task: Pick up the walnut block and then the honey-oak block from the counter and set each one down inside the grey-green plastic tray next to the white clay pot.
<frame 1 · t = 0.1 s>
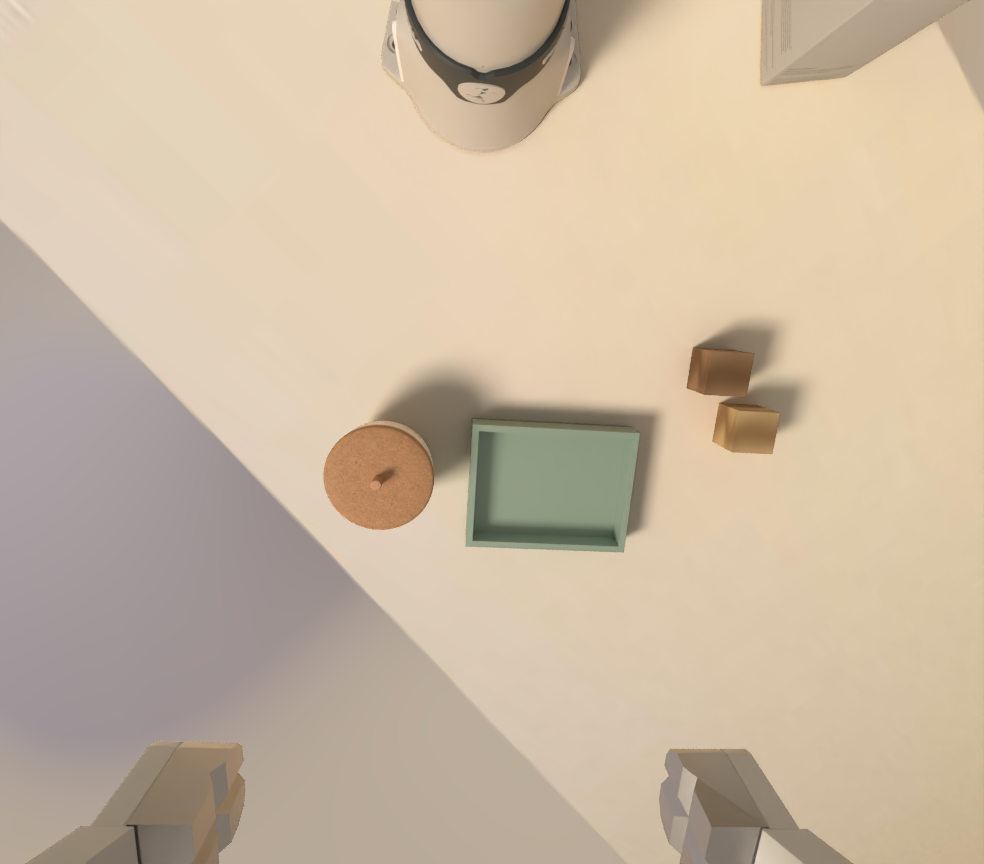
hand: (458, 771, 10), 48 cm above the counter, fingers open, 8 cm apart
tray: (546, 481, 59), on the counter
walnut block: (709, 369, 57), on the counter
lidded jar: (390, 456, 58), on the counter
oak block: (734, 423, 59), on the counter
supplement box: (803, 32, 50), on the counter
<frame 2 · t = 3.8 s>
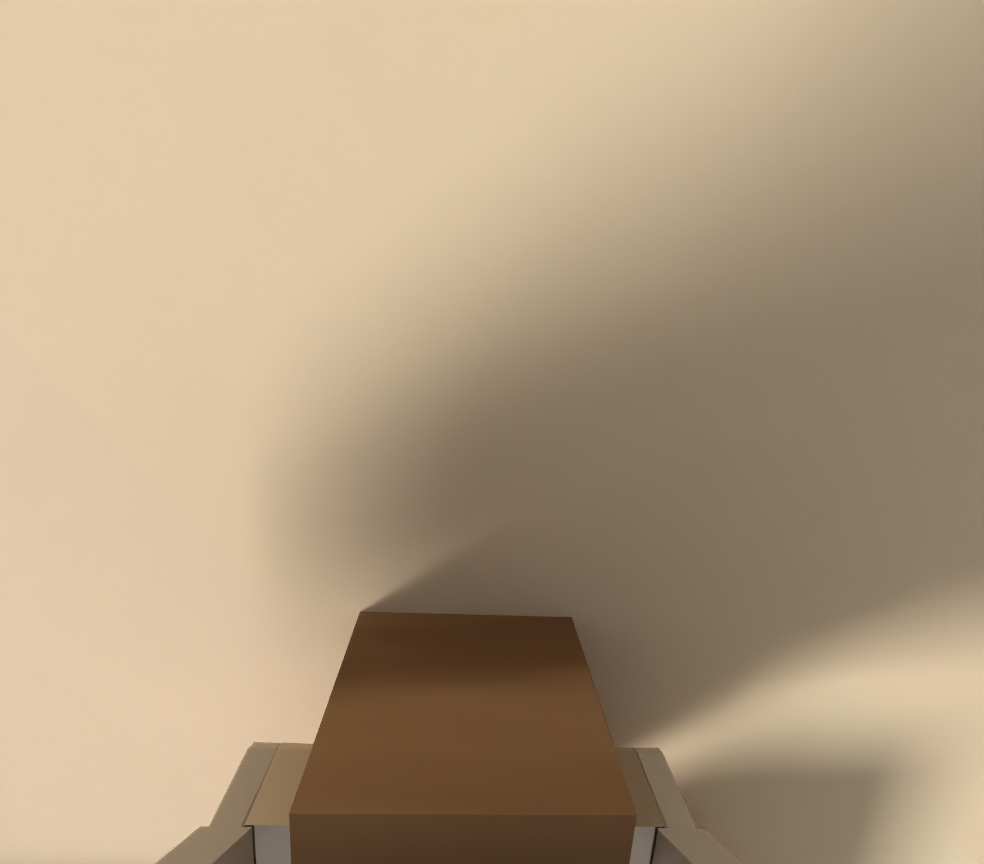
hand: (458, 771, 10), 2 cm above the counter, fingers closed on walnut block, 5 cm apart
walnut block: (462, 701, 12), on the counter, touching gripper
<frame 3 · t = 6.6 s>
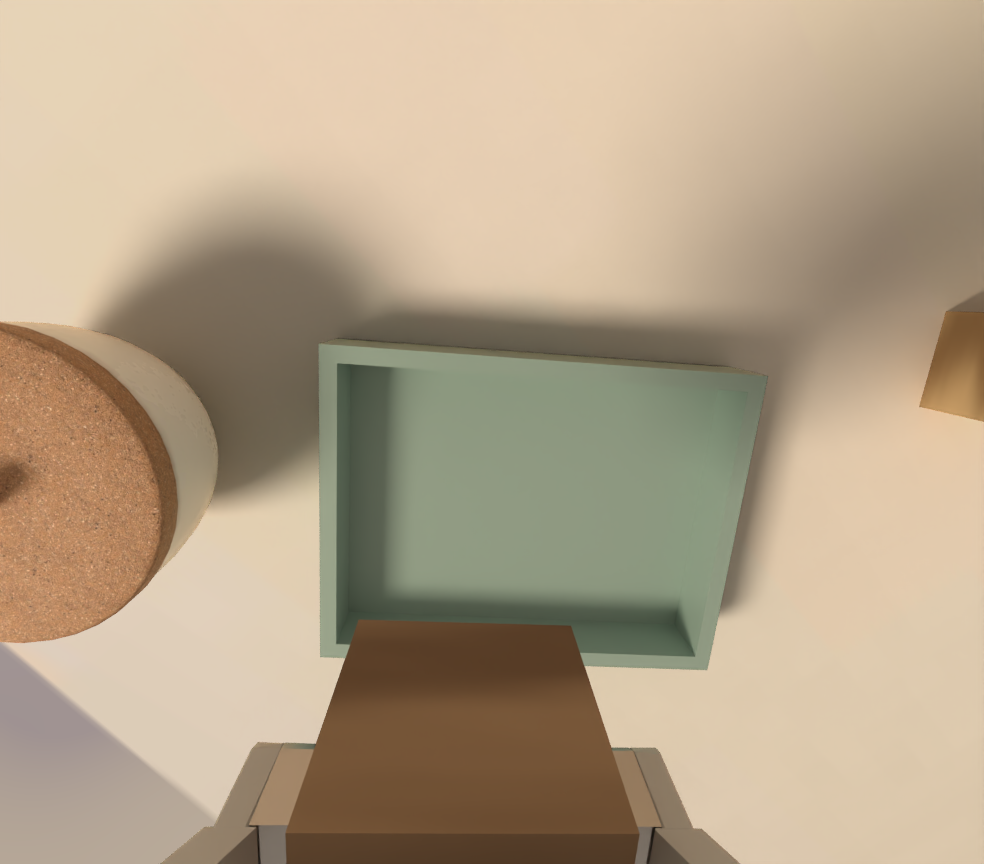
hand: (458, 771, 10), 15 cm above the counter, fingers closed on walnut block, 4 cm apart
tray: (525, 497, 25), on the counter
walnut block: (460, 712, 11), point 14 cm above the counter, touching gripper
lidded jar: (140, 433, 24), on the counter
oak block: (975, 363, 25), on the counter
when the fingers open (4 cm above the counter, at t = 9.2 s): walnut block drops 2 cm, resting on tray.
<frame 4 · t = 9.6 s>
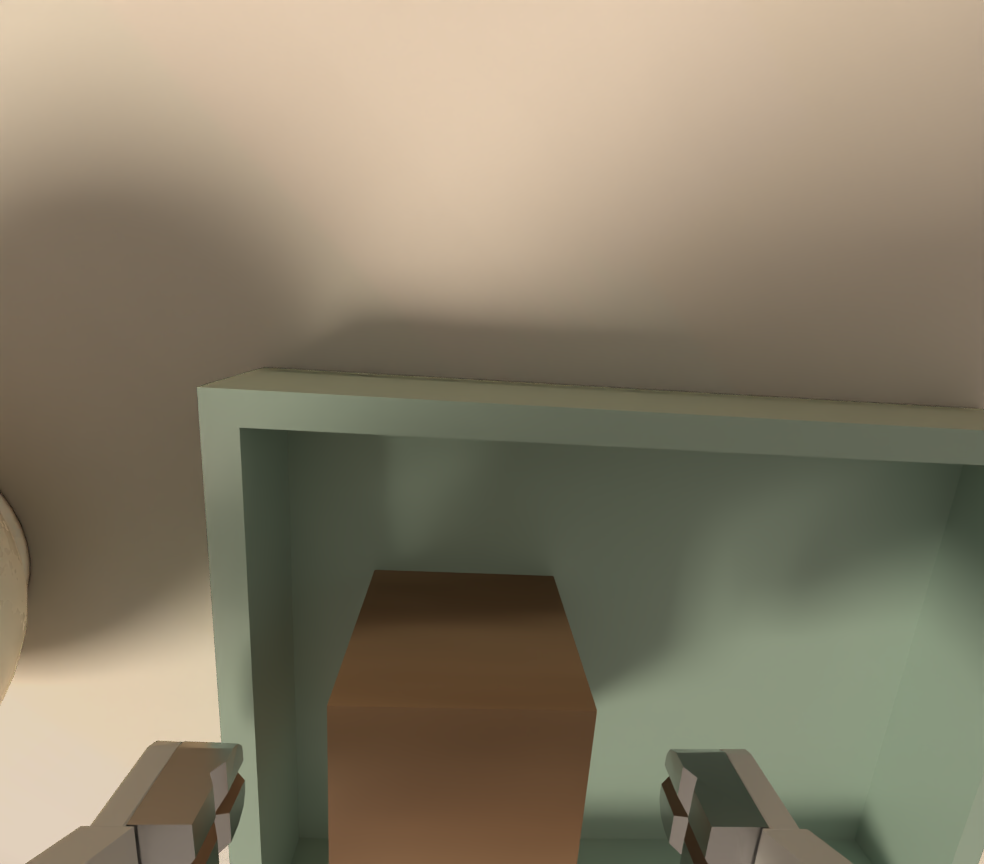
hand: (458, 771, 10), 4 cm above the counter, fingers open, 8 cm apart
tray: (605, 638, 14), on the counter
walnut block: (460, 650, 13), point 1 cm above the counter, touching tray
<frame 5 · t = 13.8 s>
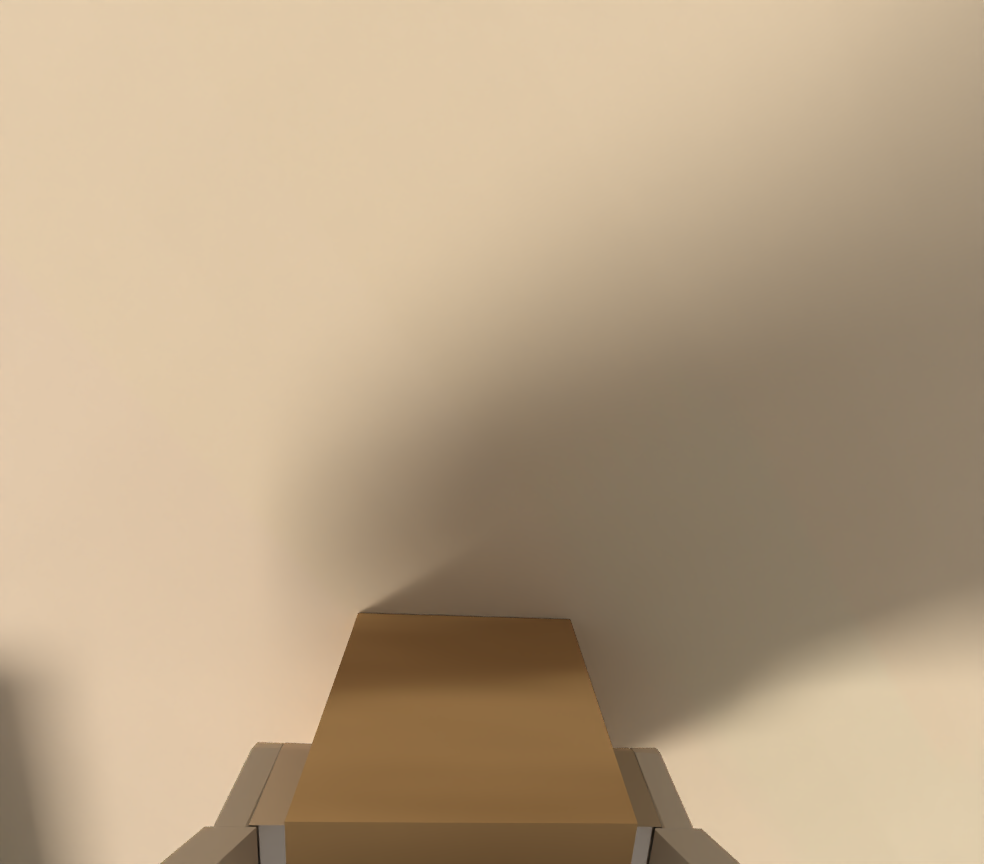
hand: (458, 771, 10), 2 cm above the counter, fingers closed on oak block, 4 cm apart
oak block: (460, 705, 11), on the counter, touching gripper
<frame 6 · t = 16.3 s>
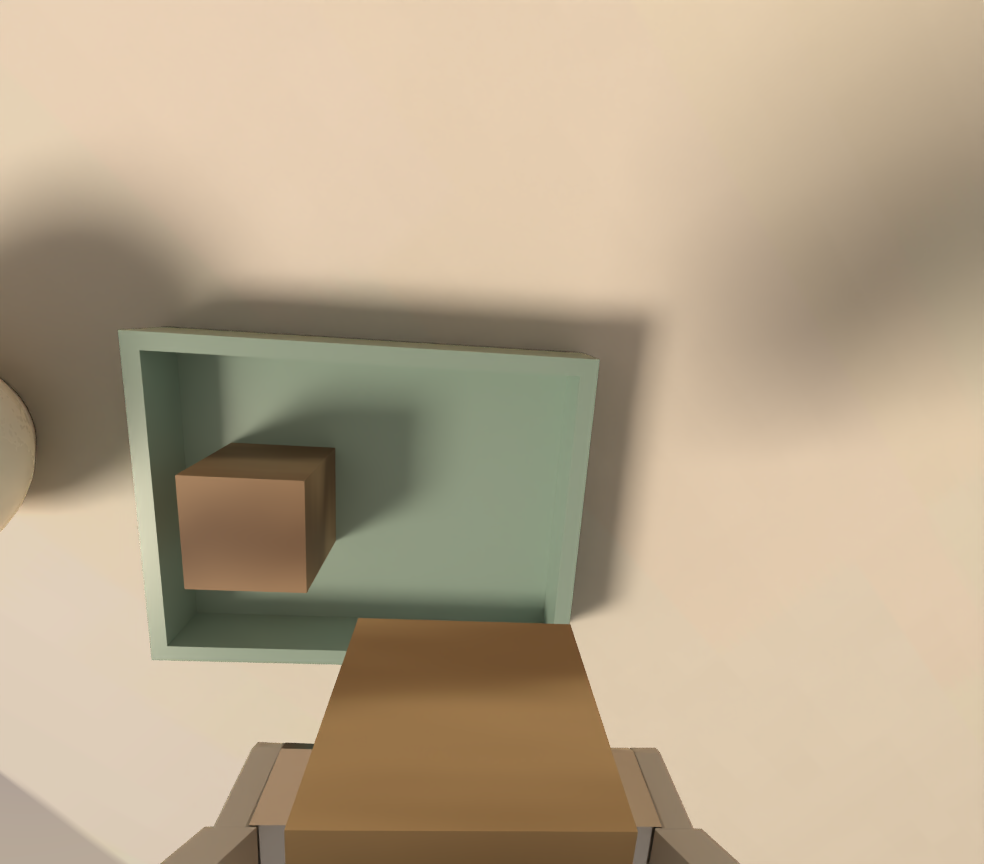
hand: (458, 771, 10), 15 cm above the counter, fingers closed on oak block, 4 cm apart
tray: (377, 491, 24), on the counter
walnut block: (285, 493, 23), point 1 cm above the counter, touching tray
oak block: (460, 710, 11), point 13 cm above the counter, touching gripper
when the fingers open (4 cm above the counter, at t = 18.6 s): oak block drops 2 cm, resting on tray.
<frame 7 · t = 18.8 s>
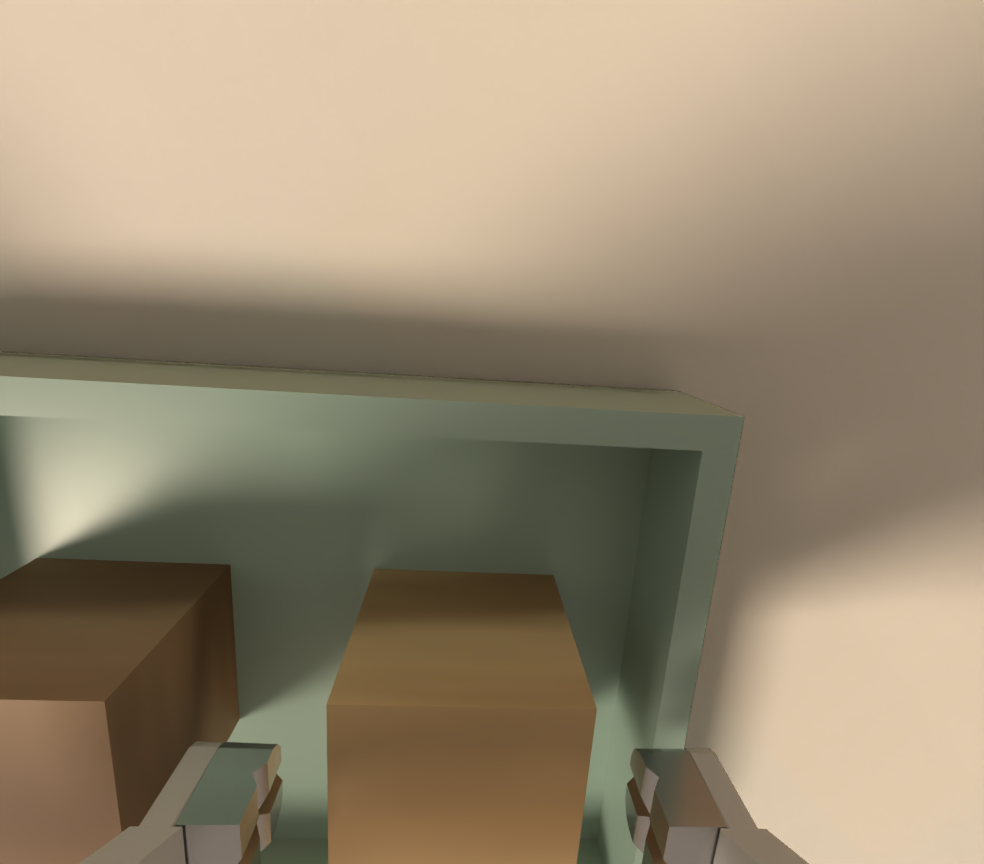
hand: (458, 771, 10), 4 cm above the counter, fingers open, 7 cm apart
tray: (312, 630, 14), on the counter
walnut block: (143, 642, 13), point 1 cm above the counter, touching tray
oak block: (460, 649, 13), point 1 cm above the counter, touching tray
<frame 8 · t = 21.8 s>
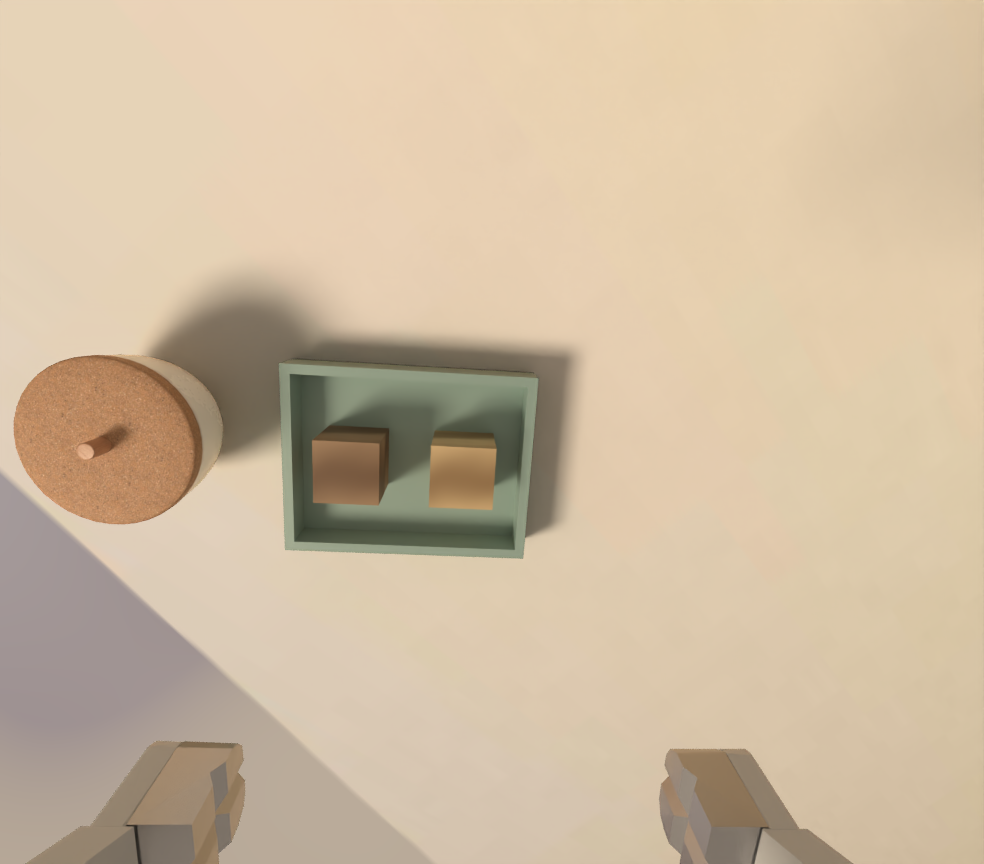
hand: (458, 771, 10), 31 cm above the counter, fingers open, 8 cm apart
tray: (412, 454, 40), on the counter
walnut block: (359, 455, 40), point 1 cm above the counter, touching tray
lidded jar: (175, 417, 39), on the counter
oak block: (462, 459, 40), point 1 cm above the counter, touching tray
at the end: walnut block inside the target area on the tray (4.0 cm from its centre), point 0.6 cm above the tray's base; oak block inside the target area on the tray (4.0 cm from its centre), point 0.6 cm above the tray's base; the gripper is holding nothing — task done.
